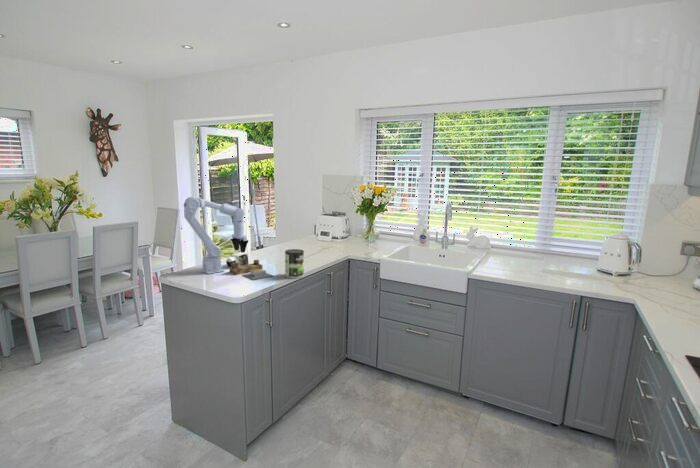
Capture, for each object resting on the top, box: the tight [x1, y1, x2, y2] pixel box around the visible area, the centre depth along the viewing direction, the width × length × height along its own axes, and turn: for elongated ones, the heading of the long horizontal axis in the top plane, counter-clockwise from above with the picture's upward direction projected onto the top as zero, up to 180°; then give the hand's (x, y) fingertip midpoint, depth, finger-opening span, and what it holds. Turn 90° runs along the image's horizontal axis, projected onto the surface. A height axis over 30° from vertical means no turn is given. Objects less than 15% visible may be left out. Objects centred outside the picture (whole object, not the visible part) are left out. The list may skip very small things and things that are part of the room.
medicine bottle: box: [225, 251, 250, 268], centre depth 224 cm, size 7×7×12 cm
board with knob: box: [228, 259, 263, 276], centre depth 213 cm, size 17×7×6 cm, turn 134°
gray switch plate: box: [242, 272, 274, 281], centre depth 205 cm, size 12×12×1 cm
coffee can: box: [284, 248, 305, 279], centre depth 206 cm, size 10×10×14 cm
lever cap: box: [249, 268, 267, 277], centre depth 204 cm, size 7×4×3 cm, turn 134°
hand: (239, 251), depth 218 cm, fingers open, 7 cm apart
